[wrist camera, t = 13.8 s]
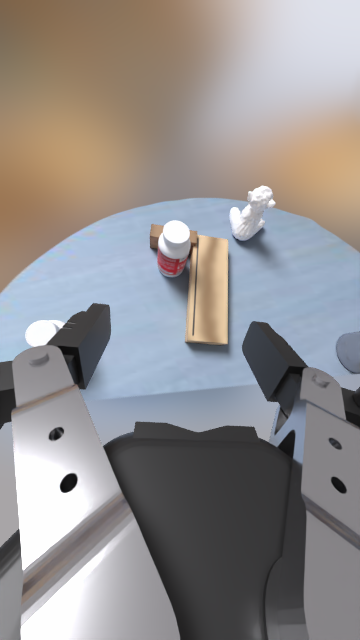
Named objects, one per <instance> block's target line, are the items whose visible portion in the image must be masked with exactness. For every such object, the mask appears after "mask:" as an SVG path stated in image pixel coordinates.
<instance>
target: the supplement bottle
mask: <svg viewBox="0 0 360 640" xmlns="http://www.w3.org/2000/svg"><path fill="white" fill-rule="evenodd" d="M64 324H65V323H63V322H61V321H57V320H50V321H46V320H40V321H37V322H35V323H33V324H32V325H30V326H29V328H28V329H27V331H26V341H27V343H28V344H29V345H31V346H32V347H36V346H41V345H46V344H47V342H48V341H49V340H50V339H51V338H52V337H53V336H54V335H55V334H56V333H57V332H58V331H59V330H60V329H61V328H62V327H63V325H64Z"/></svg>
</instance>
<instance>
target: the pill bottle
mask: <svg viewBox="0 0 360 640" xmlns="http://www.w3.org/2000/svg"><path fill="white" fill-rule="evenodd" d="M189 237H190V231H189V228H188V227H187V226H186V225H185V224H184V223H182V222H180V221H170V222H168V223H167V224H166V225H165V226H164V228H163V233H162V234H161V235H160V237H159V241H158V260H157V265H158V269H159V271H160V272H161V273H162V274H163V275H165V276H167V277H176V276H178V275H180V274H181V273H182V272H183V270H184V267H185V264H186V261H187V257H188V254H189V251H190V247H191V242H190V239H189Z"/></svg>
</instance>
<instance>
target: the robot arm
mask: <svg viewBox="0 0 360 640" xmlns="http://www.w3.org/2000/svg"><path fill="white" fill-rule="evenodd" d="M110 335H111V322H110V307H109V305H106V304H97V303H93V304H92V305H91V306H90V307H89V309H88V310H87V311H86V312H85V311H81V312H79V313H77V314H75V315H73V316H72V317H71V318H70V319H69V320H68V321H67V323H65V324H64V325H63V327H62V328H61V329H60V330H59V331H58V332H57V333H56V334H55V335H54V336H53V337H52V338H51V339H50V340H49V341H48V342H47V344H46V345H41V346H36V347H32V348H30V349H27V350H25V351H23V352H22V353H20V354H19V355H17V356H16V357H15V359H14V360H13V361H7V362H0V429H1V428H2V426H3V424H4V423H7V422H11V421H12V431H13V443H14V457H15V470H16V482H17V495H18V508H19V521H20V528H19V529H18V530H17V531H16V532H15V533H14V534H13V535H12V536H11V537H10V538H9V539H8V540H7V541H6V542H5V543H4V544H3V545H2V546H1V547H0V640H360V387H359V388H358V389H357V390H356V391H351V390H348V389H345V388H341V387H340V385H339V383H338V382H337V381H336V380H335V379H334V378H333V377H331V376H330V375H329V374H327V373H325V372H323V371H321V370H319V369H316V368H311V367H308V366H307V365H306V364H305V362H304V361H303V360H302V359H301V358H300V357H299V356H298V354H297V353H296V352H295V351H294V350H293V349H292V348H291V346H290V345H288V343H287V342H286V341H285V340H284V339H283V337H281V336H280V335H278V334H277V333H276V332H275V331H274V330H273V329H272V328H271V327H270V325H269V324H268V323H265V322H256V321H253V322H252V323H251V324H250V327H249V329H248V331H247V334H246V336H245V339H244V341H243V345H242V351H243V354H244V356H245V358H246V360H247V362H248V364H249V366H250V368H251V370H252V372H253V374H254V376H255V378H256V380H257V382H258V384H259V386H260V388H261V389H262V392H263V393H264V395H265V398H266V399H267V401H271V402H278V403H279V404H280V405H279V406H278V408H277V410H276V414H275V418H274V422H273V427H272V431H271V436H270V439H269V442H267V441H265V440H263V439H261V438H258V436H257V433H256V431H255V428H254V427H245V426H223V427H219V428H216V429H212V430H208V431H204V432H193V431H190V430H187V429H184V428H181V427H178V426H174V425H171V424H168V423H155V422H154V423H153V422H136V423H135V429H134V432H131V433H127V434H124V435H122V436H119V437H117V438H115V439H113V440H111V441H110V442H108V443H107V444H105V445H104V446H102V443H101V441H100V438H99V436H98V434H97V431H96V429H95V426H94V424H93V421H92V419H91V416H90V414H89V412H88V409H87V407H86V404H85V402H84V399H83V397H82V395H81V392H80V390H79V389H86V387H87V385H88V383H89V381H90V379H91V377H92V375H93V373H94V371H95V369H96V366H97V364H98V362H99V360H100V358H101V356H102V354H103V352H104V350H105V348H106V346H107V344H108V342H109V339H110ZM337 354H338V357H339V359H340V361H341V363H342V364H343V365H344V366H345V367H346V368H347V369H348V370H350V371H351V372H354V373H360V332H354V333H348V334H344V335H343V336H341V337H340V338H339V340H338V342H337Z"/></svg>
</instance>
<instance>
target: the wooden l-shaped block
mask: <svg viewBox="0 0 360 640" xmlns="http://www.w3.org/2000/svg"><path fill="white" fill-rule="evenodd" d="M163 228H164V226H161V225H154V224H151V232H150V248H155V249H158V241H159V237H160V235H161V234H162V233H163ZM189 231H190V237H189V239H190V242H191V247H190V251H189V254H191V257H190V272H189V288H188V304H187V319H186V335H185V342H191V343H202V344H213V345H225V344H228V240H227V239H221V238H214V237H208V236H202V235H197V231H191V230H189Z"/></svg>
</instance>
